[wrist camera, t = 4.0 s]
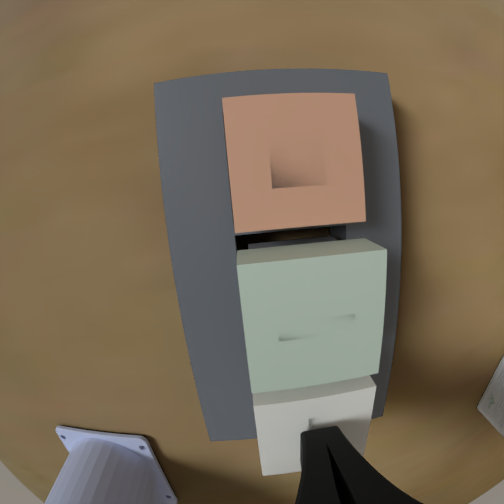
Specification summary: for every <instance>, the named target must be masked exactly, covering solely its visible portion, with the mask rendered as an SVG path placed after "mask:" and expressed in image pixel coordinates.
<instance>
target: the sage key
mask: <svg viewBox="0 0 504 504" xmlns="http://www.w3.org/2000/svg"><path fill="white" fill-rule="evenodd" d="M386 273H387V249H385V248H383V247H382V246H380V245H378V244H376V243H374V242H372V241H370V240H368V239H366V238H359V239H349V240H337V239H336V238H334V237H333V236H327V237H316V238H306V239H295V240H285V241H275V242H264V243H254V244H248V249H247V250H237V274H238V283H239V292H240V300H241V309H242V318H243V326H244V335H245V343H246V351H247V360H248V368H249V376H250V384H251V392H252V393H259V392H269V391H277V390H285V389H293V388H300V387H307V386H314V385H320V384H326V383H331V382H337V381H342V380H348V379H353V378H358V377H362V376H367V375H372V374H376V373H378V371H379V363H380V355H381V346H382V336H383V325H384V312H385V296H386Z"/></svg>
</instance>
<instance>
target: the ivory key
mask: <svg viewBox="0 0 504 504" xmlns="http://www.w3.org/2000/svg"><path fill="white" fill-rule="evenodd" d="M375 392H376V385H375V383H374V381H373V380H372V378H371V377H370V375H367V376H362V377H358V378H353V379H348V380H342V381H337V382H331V383H326V384H320V385H314V386H307V387H300V388H293V389H285V390H277V391H269V392H259V393H252V394H253V407H254V415H255V423H256V430H257V438H258V445H259V453H260V460H261V467H262V474H263V476H265V475H275V474H283V473H291V472H298V471H301V463H300V434H301V433H302V432H303V431H308V430H314V429H320V428H325V427H331V426H338V427H339V428H340V430H341V431H342V433H343V434H344V435H345V437H346V438H347V439H348V440H349V442H350V443H351V444H352V445H353V446H354V448H355V449H356V450H357V451H358V452H359V453H360V454H361V455H362V456H363V454H364V450H365V445H366V441H367V436H368V431H369V426H370V421H371V416H372V410H373V404H374V398H375Z"/></svg>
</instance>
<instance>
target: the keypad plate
mask: <svg viewBox="0 0 504 504" xmlns="http://www.w3.org/2000/svg"><path fill="white" fill-rule="evenodd" d="M280 93H352V94H355V100H356V107H357V115H358V123H359V131H360V141H361V151H362V162H363V175H364V191H365V212H366V221H365V222H353V223H341V224H329V225H318V226H306V227H295V228H284V229H274V230H263V231H253V232H243V233H235V228H234V218H233V209H232V199H231V189H230V179H229V168H228V158H227V147H226V137H225V126H224V115H223V104H222V98H225V97H235V96H247V95H261V94H280ZM154 95H155V113H156V128H157V142H158V154H159V165H160V175H161V184H162V193H163V202H164V210H165V218H166V226H167V233H168V240H169V247H170V254H171V260H172V267H173V273H174V279H175V285H176V291H177V296H178V302H179V307H180V313H181V318H182V323H183V328H184V333H185V338H186V343H187V348H188V352H189V357H190V362H191V366H192V370H193V375H194V379H195V383H196V388H197V392H198V396H199V400H200V404H201V408H202V412H203V416H204V419H205V423H206V427H207V431H208V434H209V438H210V441H225V440H242V439H255V438H257V430H256V423H255V415H254V407H253V394H252V392H251V384H250V376H249V368H248V360H247V351H246V343H245V335H244V326H243V318H242V309H241V300H240V292H239V283H238V274H237V250H238V246H237V237H236V235H246V234H256V233H266V232H277V231H287V230H298V229H309V228H320V227H330V236H333V237H334V238H336V239H337V240H349V239H359V238H366V239H368V240H370V241H372V242H374V243H376V244H378V245H380V246H382V247H383V248H385V249H387V273H386V296H385V312H384V325H383V336H382V346H381V355H380V363H379V371H378V373H376V374H372V375H370V377H371V378H372V380H373V381H374V383H375V385H376V392H375V398H374V404H373V410H372V416H371V419H373V418H377V417H381V416H383V411H384V406H385V401H386V396H387V391H388V385H389V379H390V373H391V366H392V359H393V352H394V344H395V336H396V327H397V317H398V305H399V291H400V273H401V191H400V173H399V159H398V148H397V138H396V129H395V121H394V113H393V106H392V99H391V93H390V87H389V81H388V75H387V73H379V72H369V71H356V70H340V69H267V70H250V71H237V72H227V73H217V74H209V75H201V76H194V77H187V78H181V79H175V80H169V81H164V82H158V83H154Z"/></svg>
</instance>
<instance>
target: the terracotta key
mask: <svg viewBox="0 0 504 504" xmlns="http://www.w3.org/2000/svg"><path fill="white" fill-rule="evenodd" d="M222 104H223V115H224V126H225V137H226V147H227V158H228V168H229V179H230V189H231V199H232V209H233V218H234V228H235V233H243V232H253V231H263V230H274V229H284V228H295V227H306V226H318V225H329V224H341V223H353V222H365V221H366V212H365V191H364V175H363V162H362V151H361V141H360V131H359V123H358V115H357V107H356V100H355V94H352V93H280V94H261V95H247V96H235V97H225V98H222Z"/></svg>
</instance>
